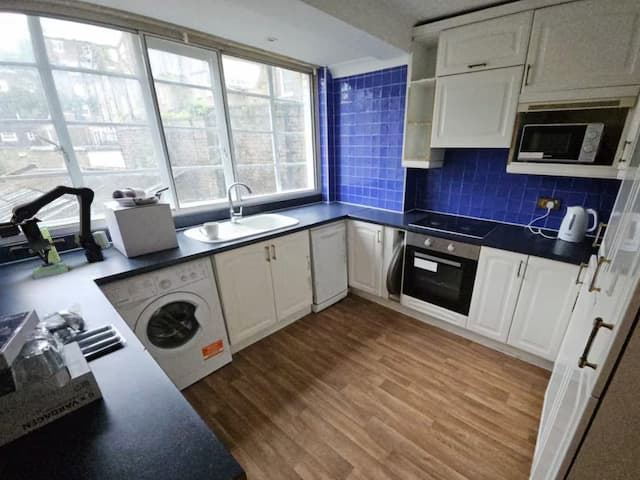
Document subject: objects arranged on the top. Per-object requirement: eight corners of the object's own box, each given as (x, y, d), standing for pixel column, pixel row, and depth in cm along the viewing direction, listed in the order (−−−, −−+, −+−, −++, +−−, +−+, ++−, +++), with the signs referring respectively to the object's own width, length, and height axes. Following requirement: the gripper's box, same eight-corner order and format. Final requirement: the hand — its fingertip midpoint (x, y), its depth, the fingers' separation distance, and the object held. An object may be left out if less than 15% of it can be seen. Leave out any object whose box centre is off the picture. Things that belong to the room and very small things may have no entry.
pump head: (54, 264, 149) (52, 261, 148) (54, 266, 146) (53, 263, 145) (43, 267, 146) (41, 263, 145) (43, 269, 144) (41, 265, 143)
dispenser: (66, 266, 155) (63, 259, 153) (68, 271, 148) (65, 264, 147) (34, 273, 147) (30, 266, 145) (35, 279, 140) (31, 271, 139)
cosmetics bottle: (102, 246, 184) (96, 231, 180) (110, 246, 185) (104, 230, 181) (98, 249, 179) (91, 233, 175) (106, 248, 180) (100, 232, 176)
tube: (59, 262, 160) (43, 227, 152) (46, 264, 157) (29, 229, 150) (62, 259, 164) (46, 225, 156) (49, 261, 162) (33, 227, 154)
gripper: (2, 241, 128) (20, 273, 134) (60, 231, 140) (74, 261, 147) (3, 236, 135) (20, 267, 141) (58, 227, 147) (71, 256, 154)
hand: (47, 263), depth 145 cm, fingers closed, pressing on pump head
